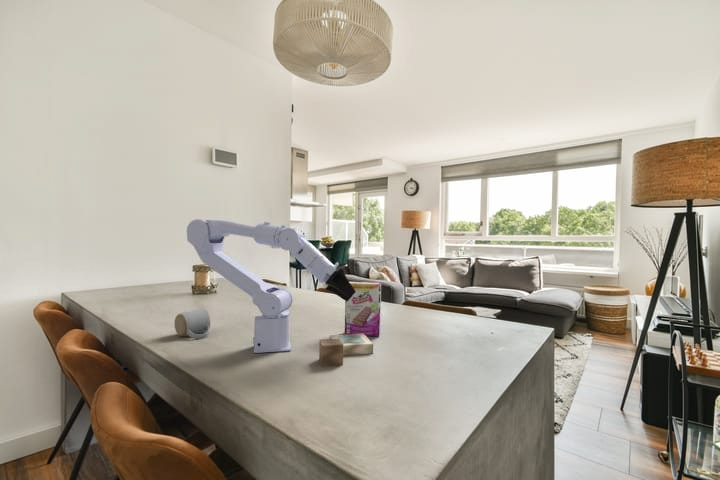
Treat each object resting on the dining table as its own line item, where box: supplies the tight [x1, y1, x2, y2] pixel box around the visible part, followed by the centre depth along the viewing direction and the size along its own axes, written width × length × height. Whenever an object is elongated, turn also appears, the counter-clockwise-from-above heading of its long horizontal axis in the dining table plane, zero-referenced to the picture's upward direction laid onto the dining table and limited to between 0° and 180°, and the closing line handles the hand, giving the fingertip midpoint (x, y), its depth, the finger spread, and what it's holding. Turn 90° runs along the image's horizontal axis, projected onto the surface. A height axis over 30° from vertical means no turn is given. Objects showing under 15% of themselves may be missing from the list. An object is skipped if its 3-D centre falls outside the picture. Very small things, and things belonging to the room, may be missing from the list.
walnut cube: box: [318, 338, 344, 368], centre depth 83 cm, size 5×5×5 cm
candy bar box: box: [344, 281, 382, 338], centre depth 107 cm, size 11×5×16 cm, turn 84°
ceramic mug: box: [173, 307, 211, 340], centre depth 104 cm, size 11×8×8 cm
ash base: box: [329, 334, 374, 356], centre depth 93 cm, size 10×10×3 cm
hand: (351, 296), depth 90 cm, fingers open, 7 cm apart
